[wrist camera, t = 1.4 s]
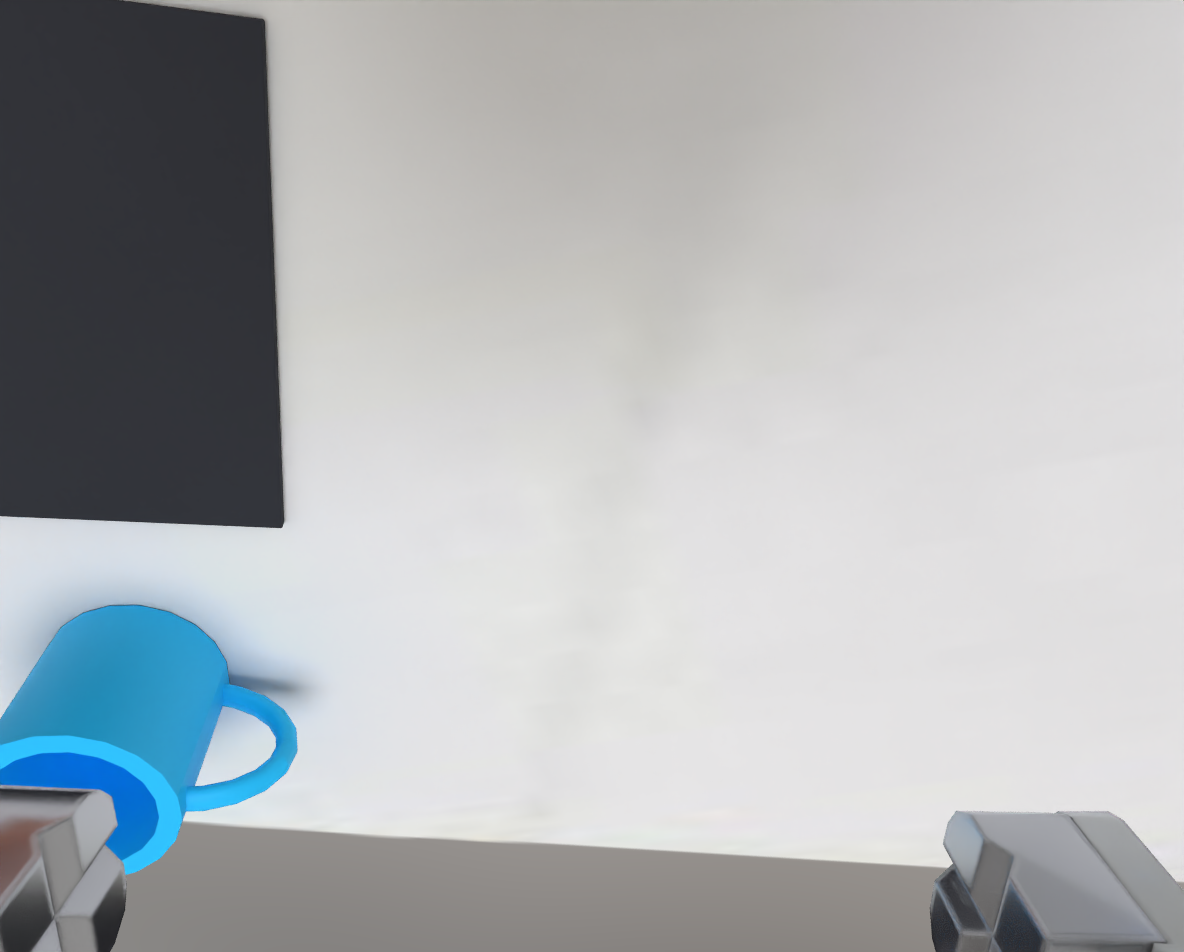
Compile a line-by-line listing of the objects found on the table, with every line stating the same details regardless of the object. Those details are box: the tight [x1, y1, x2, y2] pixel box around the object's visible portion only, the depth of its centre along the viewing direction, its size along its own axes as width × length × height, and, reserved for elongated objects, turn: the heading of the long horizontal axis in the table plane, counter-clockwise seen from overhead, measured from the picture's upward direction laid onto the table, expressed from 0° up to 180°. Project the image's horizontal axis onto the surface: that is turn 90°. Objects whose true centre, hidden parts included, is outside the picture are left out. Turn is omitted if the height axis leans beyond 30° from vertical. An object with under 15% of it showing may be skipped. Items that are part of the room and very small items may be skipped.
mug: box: [0, 605, 297, 875], centre depth 39 cm, size 12×8×8 cm
